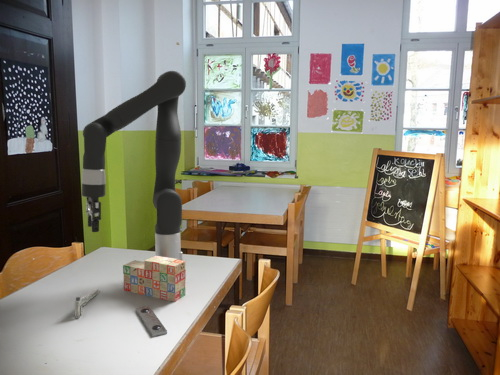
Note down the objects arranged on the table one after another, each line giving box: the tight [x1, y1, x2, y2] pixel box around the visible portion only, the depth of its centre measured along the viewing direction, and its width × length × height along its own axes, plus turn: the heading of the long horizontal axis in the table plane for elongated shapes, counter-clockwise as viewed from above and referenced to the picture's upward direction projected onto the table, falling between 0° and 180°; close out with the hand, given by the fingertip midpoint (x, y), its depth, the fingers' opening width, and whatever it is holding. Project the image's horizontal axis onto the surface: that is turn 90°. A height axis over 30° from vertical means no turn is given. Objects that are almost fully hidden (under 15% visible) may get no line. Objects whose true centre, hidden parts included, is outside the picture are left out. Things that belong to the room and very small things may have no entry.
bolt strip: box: [135, 305, 168, 338], centre depth 118 cm, size 4×18×1 cm, turn 29°
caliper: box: [74, 289, 101, 319], centre depth 129 cm, size 20×1×6 cm, turn 4°
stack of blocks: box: [122, 255, 187, 303], centre depth 138 cm, size 21×6×12 cm, turn 65°
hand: (93, 229), depth 140 cm, fingers open, 8 cm apart
